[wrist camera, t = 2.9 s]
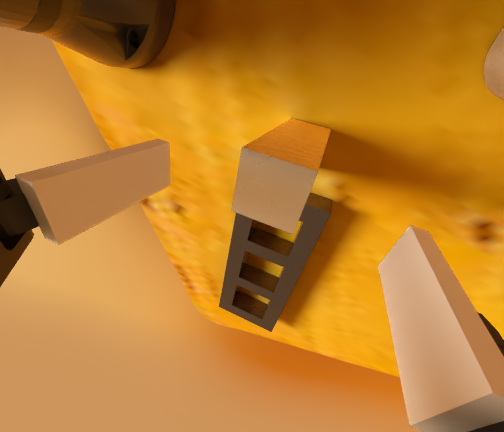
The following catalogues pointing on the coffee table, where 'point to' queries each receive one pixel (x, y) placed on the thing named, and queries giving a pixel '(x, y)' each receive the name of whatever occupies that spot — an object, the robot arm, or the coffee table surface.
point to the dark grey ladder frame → (276, 252)
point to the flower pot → (495, 67)
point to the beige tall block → (279, 173)
